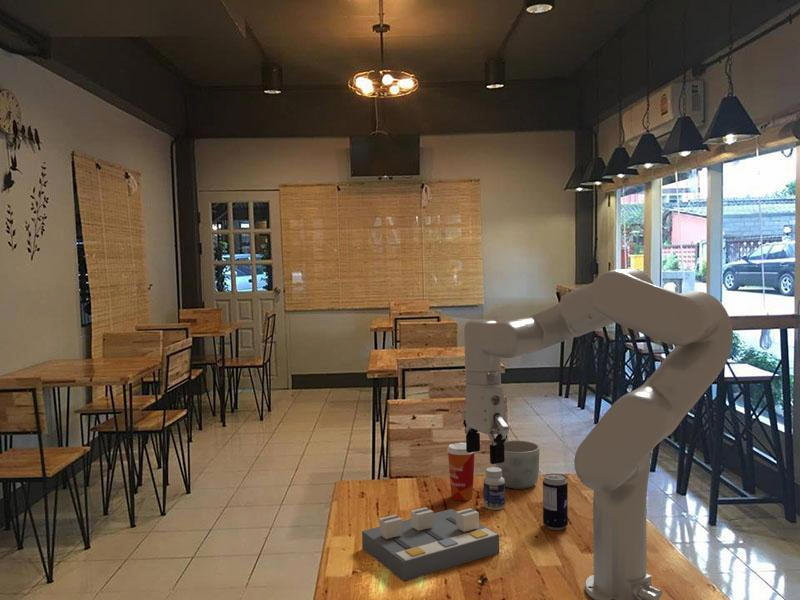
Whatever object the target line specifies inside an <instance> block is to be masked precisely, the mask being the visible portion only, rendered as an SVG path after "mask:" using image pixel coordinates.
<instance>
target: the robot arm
mask: <svg viewBox="0 0 800 600" xmlns="http://www.w3.org/2000/svg"><path fill="white" fill-rule="evenodd" d="M615 323H617V324H618V325H620V326H623V327H625V328H628V329H630V330H632V331H635V332H638V333H640V334H642V335H645V336H646V337H650V338H651V339H655V340H656V341H659V342H661V343H664V344H668V345H673V346H675V347H674V348H673V349H672V350H671V351H670V352H669V354H668V355H667V356H666V357H665V358H664V359H663V360H662V361H661V362H660V364H659V366H658V367H657V368H656V369H655V371H654V372H653V373H652V374H651V375H650V376H649V378H648V379H646V381H645V382H644V383H643V384H642V385H641V386H639V387H637V388H636V389H634V390H631V391H630V392H628V393H626V394H624V395H622V396H620V398H618V399H616V401H615V402H614V403H613V404H611V406H610V407H609V408H608V410H606V412H605V413H604V414H603V415H602V417H601V418H600V419H599V420H598V422H597V423H596V424H595V425H594V426H593V428H592V429H591V430H590V432H589V433H588V434H587V436H586V437H585V438H584V439H583V440H582V442H580V445H579V446H578V448H577V450H576V451H575V455H574V459H573V460H574V461H573V462H574V464H573V465H574V470H575V473H576V475H577V478H578V479H579V481H580V482H581V483H582V484H583V485H584V486H586V488H588V489H590V490H592V491H593V498H592V499H593V503H592V504H593V505H592V506H593V509H592V513H593V515H592V517H593V518H592V521H593V522H592V523H593V528H592V532H593V534H592V535H593V536H592V537H593V538H592V541H593V542H592V543H593V545H592V546H593V557H592V559H593V560H592V561H593V562H592V563H593V574H591V575H590V576H588V577H587V578H586V580H585V581H584V582H585V583H584V590H585V592H586V594H587V595H588V596H589V597H591V599H593V600H660V598H661V597H662V595H663V591H662V590H661V589H659V588H657V587H655V586H653V585H652V575H651V574H649V573H647V514H648V512H647V511H648V510H647V509H648V505H647V504H648V503H647V501H648V498H647V497H648V485H649V484H648V483H649V474H650V466H651V452H652V451H653V450H654V448H655V447H656V446H657V445H659V443H660V442H662V441H664V440H665V439H666V438H667V437H669V436H670V435H671V434H672V433H673V432H674V431H675V430H676V429H677V427H678V426H679V425H680V423H681V422H682V420H684V418H685V417H686V415H688V413H689V412H690V410H691V409H693V407H694V406H695V404H696V403H698V401H699V400H700V399H701V397H702V396H703V395H704V393H706V391H707V390H708V389H709V388H710V386H711V385H712V384H713V383H714V381H716V379H717V378H718V376H719V375H720V374H721V373H722V371H723V369H724V368H725V366H726V364H727V362H728V360H729V358H730V355H731V351H732V347H733V343H734V342H733V341H734V333H733V332H734V331H733V324H732V322H731V318H730V315H729V314H728V311H727V310H726V308H725V306H724V305H723V304H722V302H720V301H719V300H718V299H717V298H716V297H715V296H713V295H712V294H709V293H707V292H704V291H697V290H694V291H693V290H692V291H686V292H685V291H684V292H681V293H680V292H675V291H673V290H669V289H667V288H664V287H661V286H658V285H655V284H654V283H653V281H652V279H651V278H650V277H649V276H648V274H647V273H645V272H643V271H642V270H639V269H636V268H620V269H612V270H608V271H604V272H603V273H601V274H600V275H599V276H597V277H596V279H595V280H594V281H592V282H591V283H588V284H586V285H584V286H582V287H579V288H576V289H574V290H571V291H569V292H567V293H565V294H563V295H562V296H561V297H560V300H559V302H558V303H557V304H555V305H553V306H551V307H549V308H547V309H544V310H542V311H540V312H537V313H535V314H532V315H530V316H529V315H528V316H526V317H522V318H516V319H510V320H506V321H496V320H494V319H473V320H472V319H471V320H469V321H466V323H465V325H464V327H463V329H464V330H463V332H464V333H463V335H464V337H463V338H464V371H465V374H464V376H465V377H464V380H465V392H464V393H465V395H464V409H463V410H461V416H462V421H463V422H462V424H463V426H464V433H465V443H466V451H467V452H468V453H471V452H475V453H476V452H479V451H481V434H484V435H487V436H488V439H489V440H490V443H491V444H489V463H490V464H491V465H495V464H498V463H503V462H504V444H505V443H506V441H507V439H508V435H509V434H508V433H509V431H510V427H509V425H508V424H507V411H506V401H505V395H504V390H503V386H502V371H501V369H502V367H501V365H502V363H501V362H502V361H501V358H502V359H513V358H516V357H517V358H518V357H521V356H524V355H528V354H533V353H535V352H539V351H541V350H543V349H547V348H549V347H552V346H555V345H557V344H560V343H563V342H565V341H568V340H570V339H573V338H579V337H581V336H583V335H586V334H589V333H591V332H594V331H597V330H600V329H603V328H604V327H607V326H610V325H612V324H615ZM480 433H481V434H480ZM495 435H496V437H495Z"/></svg>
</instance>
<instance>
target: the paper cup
mask: <svg viewBox="0 0 800 600" xmlns="http://www.w3.org/2000/svg"><path fill="white" fill-rule="evenodd" d="M446 452H447V455H448V469H449V470H448V471H449V483H450V484H449V485H450V495H451V496H450V497H451V499H452V500H454V501H457V502H466V501H470V500H472V499H473V494H474V478H475V477H474V472H475V454H476V452H471V453H468V452H467V451H466V442H455V443H450V444H449V445H448V447H447V449H446Z"/></svg>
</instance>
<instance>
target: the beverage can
mask: <svg viewBox="0 0 800 600" xmlns="http://www.w3.org/2000/svg"><path fill="white" fill-rule="evenodd" d="M568 487H569V486H568V480H567V477H566V476H565V475H564V474H562V473H561V474H560V473H546V474H545V475H544V479H543V481H542V523H543V525H545V526H546V527H547V528H548V529H549V530H553V531H561V530H564V529H565V528H566V527H567V526H568V524H569V515H568V514H569V512H568V511H569V508H568V506H569V505H568V504H569V503H568V502H569V500H568V497H569V496H568Z"/></svg>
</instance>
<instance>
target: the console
mask: <svg viewBox="0 0 800 600" xmlns="http://www.w3.org/2000/svg"><path fill="white" fill-rule="evenodd" d="M456 512H457V511H456V510H454V509H452V508H450V509H446V510H441V511H438V512H433V519H434V527H431V528H427V529H423V530H419V531H418V530H416V529H415V528H413V527H412V526H411V518H409V519H406V520H402V531H403V535H400V536H396V537H392V538H389V539H386V538H384V537H383V536H381V535H380V527H379V526H378V527H377V526H376V527H374V528H369V529H365V530H362V531H361V541H362V542H361V543H362V544H361V546H362V547H361V548H362V550H364V551H365V553H367V554H368V555H370V556H371V557H372V558H373V559H375V560H376V561H377V562H378V563H380V564H381V565H382V566H383V567H385V568H386V569H388V570H389V571H390V572H391V573H392V574H394V575H395V576H396V577H398V578H399V579H400V580H402V582H406V581H409V580H410V581H411V580H412V579H413V580H414V579H417V578H420V577H423V576H426V575H430V574H433V573H436V572H437V573H438V572H440V571H444V570H446V569H449V568H453V567H456V566H461V565H463V564H466V563H470V562H472V561H477V560H480V559H482V558H486V557H489V556H493V555H496V554H499V553H500V534H499V533H497V532H495V531H493V530H491V529H489V528H488V527H487V526H484V525H482V524H481V523H479V528H477V529H473V530H470V531H466V532H463V531H462V530H460V529H458V528H457V527H456Z"/></svg>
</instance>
